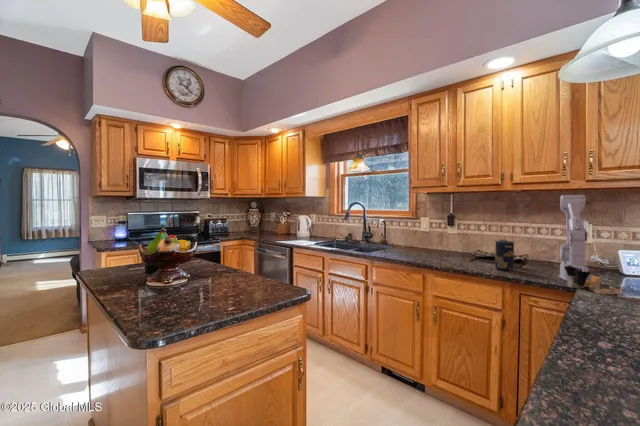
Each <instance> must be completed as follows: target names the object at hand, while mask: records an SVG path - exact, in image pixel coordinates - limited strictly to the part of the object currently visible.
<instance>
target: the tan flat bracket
mask: <svg viewBox="0 0 640 426" xmlns="http://www.w3.org/2000/svg"><path fill="white" fill-rule="evenodd" d="M589 289H590V290H592V291H594V292H597V293H610V294H620V295H621V289H618V288H616V287H613V286H609V285H608V289H606V288H600V289H598V288H596V287H594V286H591V285H589V288H588V290H589ZM590 290H589V291H590ZM592 291H591V292H592ZM594 292H593V293H594Z"/></svg>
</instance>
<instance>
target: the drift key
mask: <svg viewBox="0 0 640 426" xmlns="http://www.w3.org/2000/svg"><path fill="white" fill-rule="evenodd" d="M589 283H594V284H598V289H601V287H600V284H601V278H600V277H598V276H596V275H591V280H588V279H586V282H585V285H584V287H589Z"/></svg>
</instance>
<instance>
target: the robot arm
mask: <svg viewBox="0 0 640 426" xmlns="http://www.w3.org/2000/svg"><path fill="white" fill-rule="evenodd" d="M586 200H587V199H586V195H584V194H566V195H564V194H561V195H560V201H559V203H560V208H559V209H560V211H561V212H563V213H564V214H565V218H566V219H565V222H566V223H565V225H566V227H565V228H566V231H565V232H566V243H564V244H562V245H561V246H560V248H559V261H561V263H560V265H559V275H557V277H558V278H560V279H562V280H564V281H566V282H567V275H569V276H577V283H578V286H584V285H585V282H586V280H588V277H589V276H590V275H591V271H589V267H587V265H586V243H587V241H588V231H587V229H586V227H585V222H584V218H582V217H581V213H582V212H583V211H584V209H585V206H586V202H587V201H586Z"/></svg>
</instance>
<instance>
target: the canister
mask: <svg viewBox="0 0 640 426" xmlns="http://www.w3.org/2000/svg"><path fill="white" fill-rule="evenodd" d="M494 255H495V256H494V260H495V263H494V267H495V269H496V270H499V271H500V270H501V271H513V270H514V265H515V264H514V263H515V243H514V242H513V241H512V240H506V239H501V240H496V241H495V253H494Z"/></svg>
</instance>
